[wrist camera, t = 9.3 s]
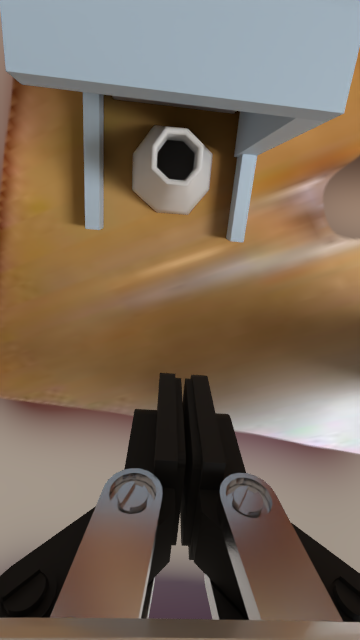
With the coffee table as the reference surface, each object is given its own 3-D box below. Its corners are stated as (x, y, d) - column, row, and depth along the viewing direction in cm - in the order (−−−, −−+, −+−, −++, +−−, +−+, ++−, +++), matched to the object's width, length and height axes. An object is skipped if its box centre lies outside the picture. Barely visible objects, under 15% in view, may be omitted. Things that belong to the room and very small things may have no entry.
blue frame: (260, 91, 26) (380, -43, 12) (238, 239, 30) (306, 273, 16) (88, 69, 24) (-11, -109, 10) (90, 226, 29) (21, 250, 15)
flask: (192, 228, 29) (207, 240, 20) (119, 195, 28) (98, 192, 19) (225, 148, 27) (259, 120, 18) (147, 109, 26) (140, 56, 16)
